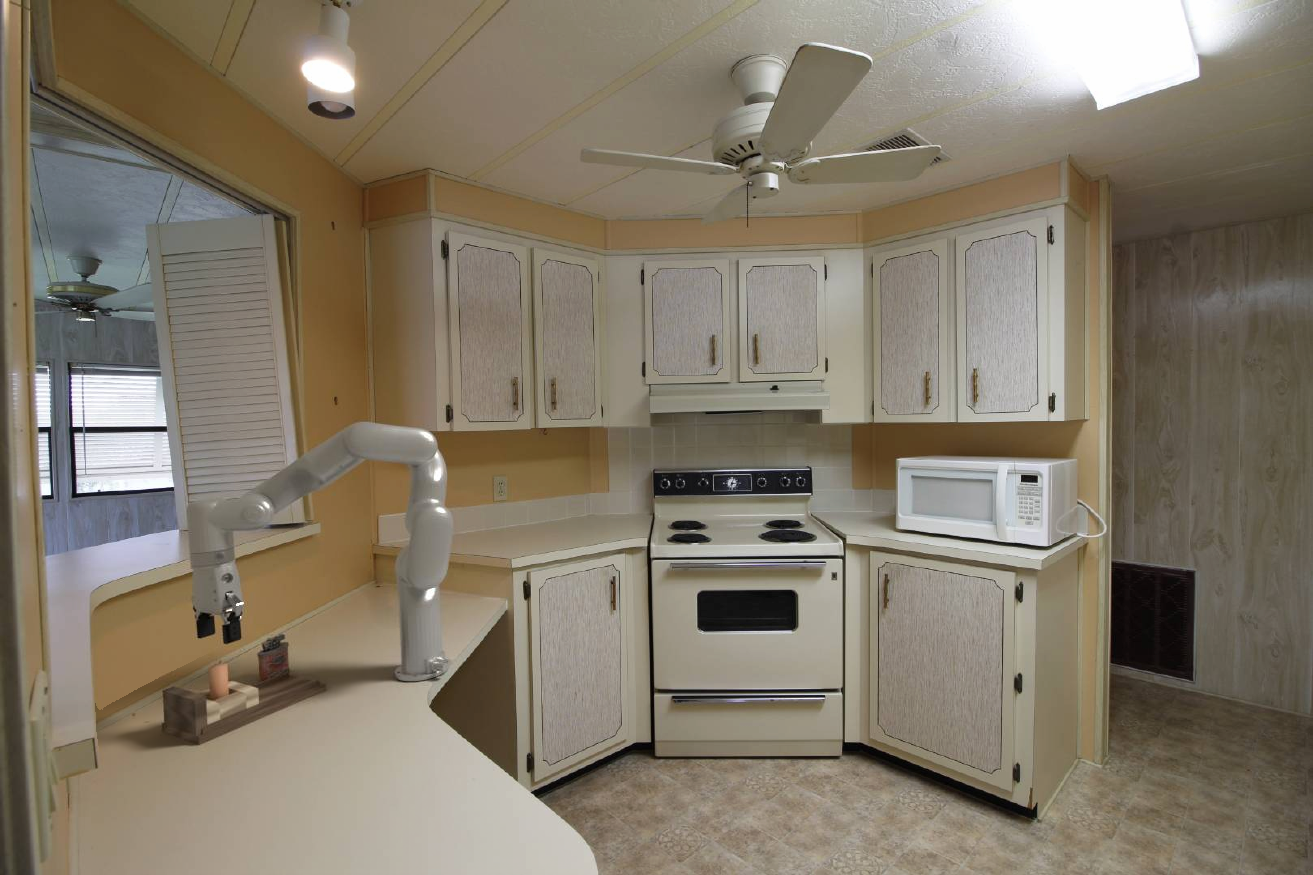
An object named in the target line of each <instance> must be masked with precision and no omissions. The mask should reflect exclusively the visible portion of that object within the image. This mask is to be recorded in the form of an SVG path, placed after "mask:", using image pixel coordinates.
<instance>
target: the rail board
mask: <svg viewBox="0 0 1313 875" xmlns="http://www.w3.org/2000/svg"><path fill="white" fill-rule="evenodd" d="M250 686H252V687H255V688H258V695H259V704H257V705H255V706H252V707H250V708H247V709H245V710H242V711H240V712H238V713H235V714H233V715H230V716H228V717H225V718H223V719H221V720H218V721H216V722H213V723H211V724H208V725H207V705H206V696H204V695H200V694H197V693H198V692H194V691H190V690H187V689H184V688H181V687H178V686H174V685H173V686H171V687H168V688H165V689H162V703H163V722H162V723H161V730H162V732H165V733H167V734H170V735H173V736H174V737H175V736H176V737H178V738H180V739H183V740H185V741H188V742H191V743H194V744H196V745H199V746H200V745H203V744H205V743H207V742H209V741H212V740H214V739H216V738H219V737H221V736H223V735H226V734H228V733H231V732H232V731H235V730H237V729H240V728H242V727H243V726H246V725H249V724H251V723H254V722H256V721H258V720H261V719H263V718H265V717H267V716H270V715H271V714H273V713H276V712H279V711H282V710H283V709H285V708H288V707H290V706H292V705H295V704H297V703H299V702H301V701H304V700H307V699H309V698H310V697H313V696H316V695H318V694H320V693H322V692H325V691H326V690H327V683H326V682H321V681H320V680H319V679H316V680H313V679H309V678H305V677H302V676H298V675H294V674H290V673H288V672H285V673H283V674H280V675H278V676H275V677H272V678H270V679H267V680H265V681H262V682H259V681H258V682H257V683H255V684H251V685H250Z"/></svg>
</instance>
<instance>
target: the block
mask: <svg viewBox="0 0 1313 875" xmlns="http://www.w3.org/2000/svg"><path fill="white" fill-rule="evenodd" d="M228 686H229V695H227V696H225V697H222V698H220V699H217V700H214V701H210V688H208V689H205V690H202V691H200V692H196V693H197V694H200V695H204V696H206V705H207V725H208V724H211V723H213V722H216V721H218V720H221V719H223V718H225V717H228V716H230V715H233V714H235V713H238V712H240V711H242V710H245V709H247V708H250V707H252V706H255V705H257V704H259V695H258V688H255V687H252V686H251V685H248V684H244V683H241V682H237V681H234V680H230V681H229V680H228Z"/></svg>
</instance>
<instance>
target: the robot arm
mask: <svg viewBox="0 0 1313 875" xmlns="http://www.w3.org/2000/svg"><path fill="white" fill-rule="evenodd" d="M438 445H439V444H438V440H437V439H436V437H435V435H434V434H433V433H432V432H430V431H429V430H427V429H425V428H421V427H411V426H410V427H409V426H404V425H403V426H401V425H392V424H384V423H377V422H372V421H370V422H369V421H359V422H355V423H353V424H350V425H349V426H346V427H345V428H343V429H342V430H340V431H338V432H337V433H336V434H334V435H333V436H331V437H330V438H328V439H326V440H325V441H323V442H321V443H320V444H318V445H317V446H316V447H313V449H311V450H310V451H307V452H305V453H304V454H302V455H301V456H300V457H299V458H297V459H295V460H294V461H293V462H291V463H290V464H289V465H287V466H286V467H285V468H283V469H282V470H280V471H279V472H277V473H275V474H274V475H272V476H271V477H269V478H268V479H266V480H264V481H263V482H261V483H260V484H258V485H257V486H255V487H254V488H252V489H250V490H249V491H247V492H245V493H244V494H243V495H241V496H239V497H237V498H231V499H227V498H220V497H219V498H206V499H198V500H193V501H191V502H189V503H188V505H187V506H186V525H187V539H188V549H189V562H190V569H191V570H192V595H191V597H190V599H191V600H190V601H191V603H192V605H193V606H192V610H193V612H194V619H195V623H196V624H195V626H196V637H197V639H203V638H207V637H209V636H213V635H216V624H215V623H216V622H215V615H216V616H220V618H221V620H222V622H223V624H221V627H222V628H221V629H222V630H221V631H222V640H223V642H222V643H223V644H224V645H229V644H231V643H234V642H235V643H236V642H238V641H240V640H241V639H242V627H241V621H242V615H243V614H244V613H243V608H244V602H243V601H244V600H243V595H242V594H243V593H242V587H241V580H240V575H239V571H238V568H237V564H236V554H235V543H234V542H235V539H234V532H249V531H252V532H253V531H259V530H261V529H264V528H266V527H267V526H268V525H270V523H272V521H273V518H274V516H276V514H278V513H279V512H281V511H283V510H284V509H286V507H288V506H290V505H291V504H293V503H295V502H296V501H298V500H300V499H302V498H303V497H304V496H307V495H310V494H311V493H314V492H317V491H320V490H322V489H324V488H326V487H328V486H329V485H331V484H332V483H334V482H335V481H337V480H338V479H339V478H341V477H342V476H344V475H345V474H347V473H349V471H351V470H352V469H354V468H356V467H357V466H358V465H360V464H361V463H363V462H364V461H366V460H369V461H376V462H377V461H379V462H389V463H397V464H398V463H399V464H400V463H401V464H406V465H407V467H408V469H409V473H410V484H409V494H408V500H407V506H406V507H407V508H406V513H405V517H404V525H405V529H406V531H407V532H408V533H409V534H410V538H409V544H408V545H406V546H405V547H403V548H402V549H401V551H399V553H398V554H397V557H396V560H395V568H394V570H395V579H396V586H397V594H398V596H397V597H398V619H399V621H398V622H399V639H400V644H399V645H400V662H401V664H400V665H398V667H396V668H395V670H394V676H395V678H396V679H397V680H400V681H402V682H421V681H424V680H426V681H427V680H429V679H432V678H436V677H438V676H439V677H440V675H443V674H445V673H446V672H447V671H448V670H449V669H450V666H451V665H452V664H453V660H452V659H448V658H446V651H443V636H442V635H443V634H442V614H441V590H440V585H441V584H442V583H443V581H444V580H445V577H446V576H447V573H448V571H449V570H448V569H449V564H450V558H451V552H452V545H453V537H454V526H455V525H454V524H455V523H454V518H453V515H452V513H451V511H450V509H448V508H447V507H446V505H445V504H446V499H447V498H446V496H447V484H448V470H447V465H446V461H445V459H444V457H443V455H442V453H441V451H440V450H439V446H438ZM227 614H229V615H227Z"/></svg>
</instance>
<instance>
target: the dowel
mask: <svg viewBox="0 0 1313 875" xmlns="http://www.w3.org/2000/svg"><path fill="white" fill-rule="evenodd" d="M228 682H229V670H228V663H224V662H223V663H217V664H213V665H211V666H209V667H208V686H209V688H208V689H210V701H214V700H217V699H220V698H222V697H225V696H227V695H229V686H228Z"/></svg>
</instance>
